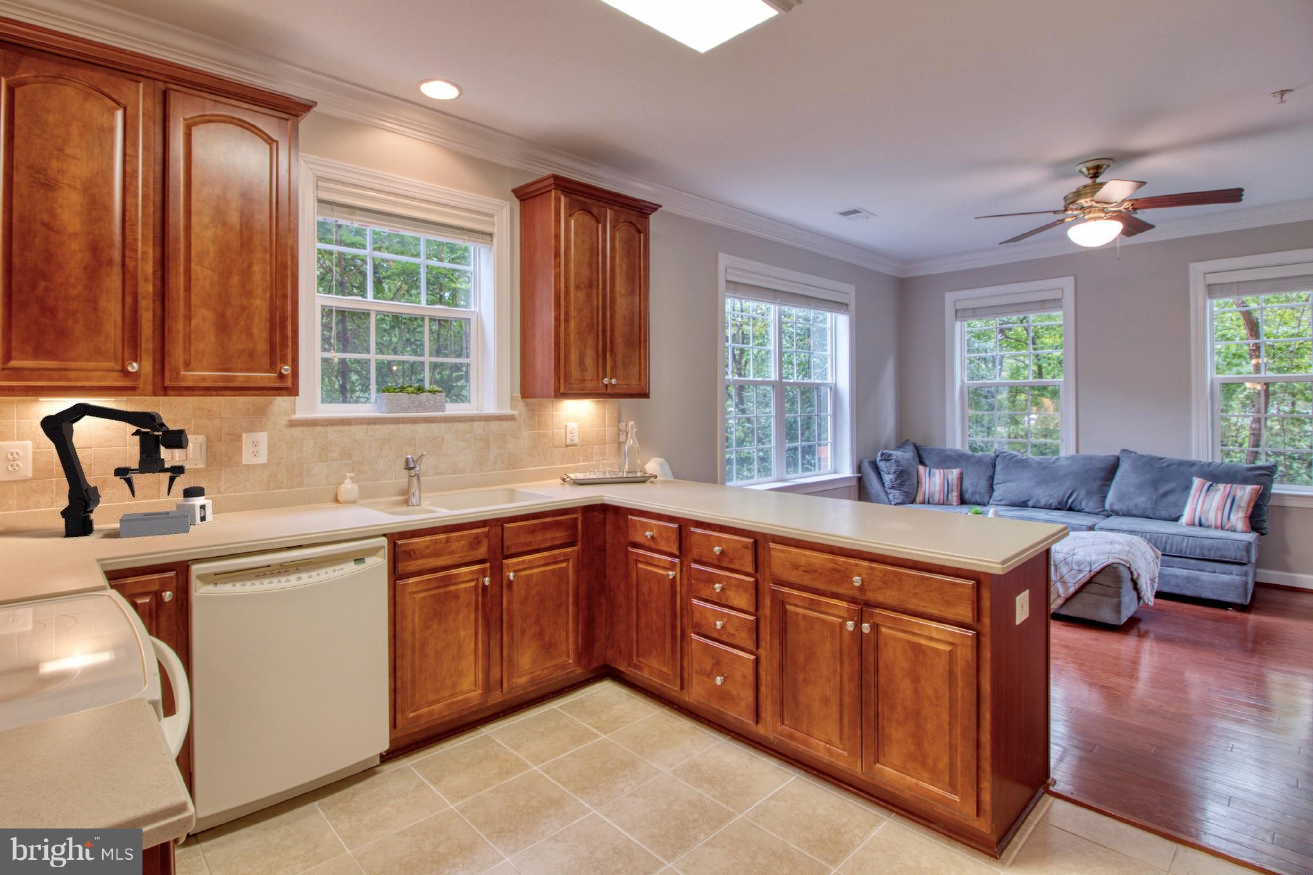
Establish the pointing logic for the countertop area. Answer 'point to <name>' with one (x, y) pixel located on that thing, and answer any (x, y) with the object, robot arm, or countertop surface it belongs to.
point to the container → (196, 505)
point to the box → (154, 523)
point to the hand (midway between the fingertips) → (151, 496)
